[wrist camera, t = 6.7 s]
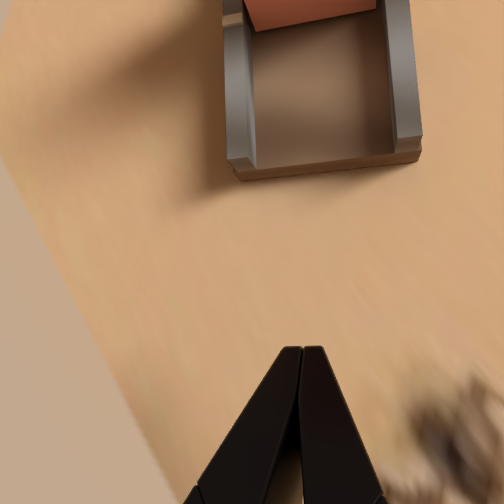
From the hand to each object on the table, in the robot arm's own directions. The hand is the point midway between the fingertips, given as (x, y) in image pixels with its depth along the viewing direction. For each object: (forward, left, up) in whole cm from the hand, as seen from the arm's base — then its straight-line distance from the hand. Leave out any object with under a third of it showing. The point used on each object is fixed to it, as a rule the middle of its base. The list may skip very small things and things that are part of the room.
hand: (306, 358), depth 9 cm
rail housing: (+12, -10, -12) cm, 19 cm away
